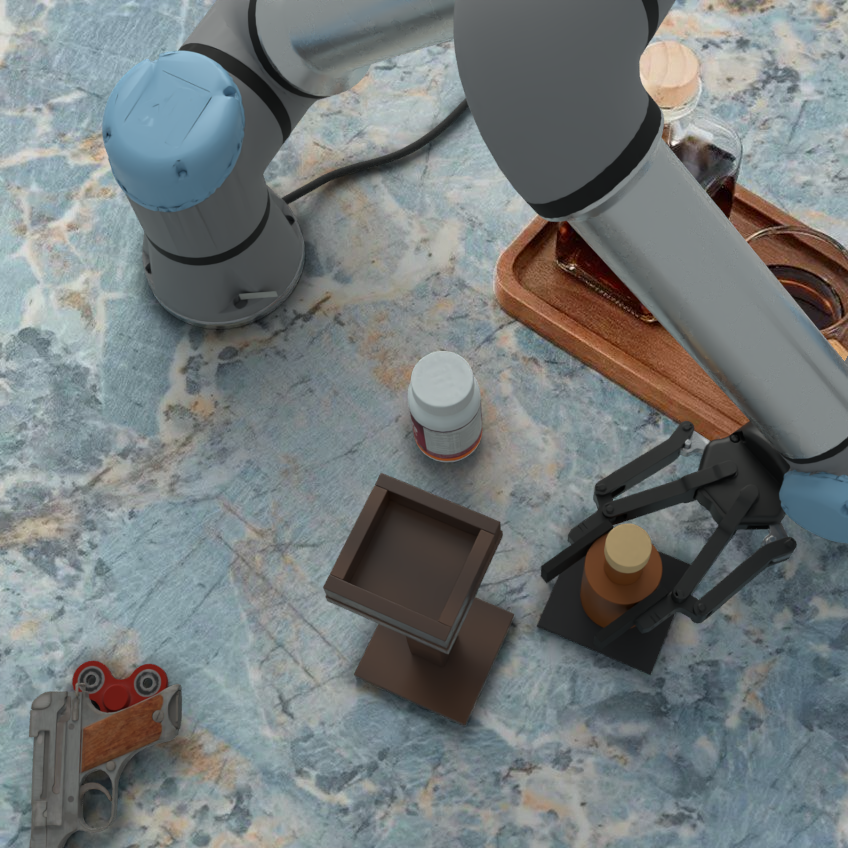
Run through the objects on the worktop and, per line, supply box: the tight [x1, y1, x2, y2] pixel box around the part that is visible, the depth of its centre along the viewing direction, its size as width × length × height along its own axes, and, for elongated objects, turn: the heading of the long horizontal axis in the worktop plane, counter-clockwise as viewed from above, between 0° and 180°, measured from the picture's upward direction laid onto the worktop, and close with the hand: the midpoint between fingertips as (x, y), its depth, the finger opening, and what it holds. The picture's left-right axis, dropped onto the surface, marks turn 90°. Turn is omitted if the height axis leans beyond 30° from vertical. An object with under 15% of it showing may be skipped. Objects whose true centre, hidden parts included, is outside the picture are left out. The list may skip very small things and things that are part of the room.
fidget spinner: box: [71, 660, 169, 713], centre depth 108 cm, size 8×7×1 cm
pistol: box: [28, 683, 183, 848], centre depth 104 cm, size 19×2×12 cm
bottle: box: [580, 523, 662, 628], centre depth 102 cm, size 6×6×13 cm
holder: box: [322, 472, 515, 728], centre depth 97 cm, size 10×10×25 cm
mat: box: [536, 550, 692, 676], centre depth 109 cm, size 10×10×1 cm
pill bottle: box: [406, 350, 483, 463], centre depth 111 cm, size 6×6×11 cm
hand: (570, 608), depth 101 cm, fingers closed on bottle, 6 cm apart
